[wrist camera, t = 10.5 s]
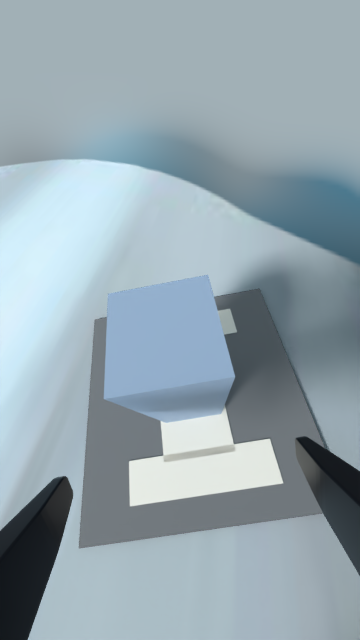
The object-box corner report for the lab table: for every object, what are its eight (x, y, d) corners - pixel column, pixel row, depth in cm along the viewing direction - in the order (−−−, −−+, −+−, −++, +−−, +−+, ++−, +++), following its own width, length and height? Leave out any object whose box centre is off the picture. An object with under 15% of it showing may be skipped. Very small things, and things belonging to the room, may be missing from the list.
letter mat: (258, 290, 26) (259, 288, 25) (347, 507, 16) (351, 509, 15) (96, 321, 26) (94, 319, 26) (81, 546, 16) (78, 548, 16)
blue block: (209, 360, 22) (208, 274, 10) (221, 414, 19) (235, 376, 8) (161, 369, 22) (107, 293, 11) (166, 422, 19) (103, 399, 8)
